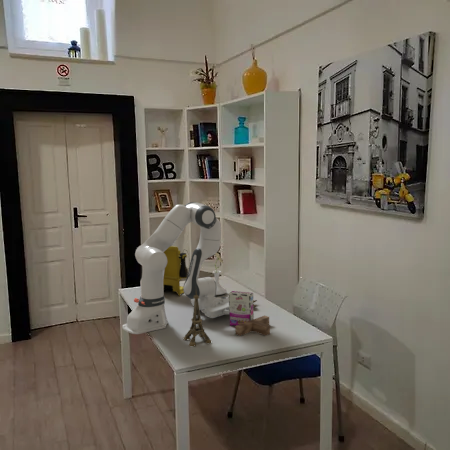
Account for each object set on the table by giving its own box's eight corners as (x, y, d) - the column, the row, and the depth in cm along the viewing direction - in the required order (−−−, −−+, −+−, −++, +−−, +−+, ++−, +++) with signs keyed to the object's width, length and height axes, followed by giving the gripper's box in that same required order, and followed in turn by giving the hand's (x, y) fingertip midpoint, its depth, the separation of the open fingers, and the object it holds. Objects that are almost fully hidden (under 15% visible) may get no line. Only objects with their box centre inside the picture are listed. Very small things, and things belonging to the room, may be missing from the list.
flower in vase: (226, 296, 267) (225, 255, 264) (207, 296, 268) (206, 255, 264) (226, 290, 280) (226, 250, 277) (208, 290, 280) (207, 250, 277)
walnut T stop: (252, 340, 202) (252, 332, 201) (235, 334, 210) (235, 326, 209) (281, 329, 215) (281, 321, 215) (264, 323, 223) (264, 315, 223)
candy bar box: (254, 325, 221) (253, 292, 219) (250, 328, 216) (250, 295, 214) (232, 322, 225) (232, 290, 223) (229, 325, 221) (228, 293, 218)
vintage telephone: (202, 292, 277) (201, 243, 273) (190, 298, 265) (189, 248, 261) (160, 286, 292) (158, 240, 287) (147, 292, 280) (145, 244, 275)
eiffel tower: (190, 347, 197) (188, 291, 193) (182, 338, 206) (180, 285, 203) (212, 342, 201) (211, 288, 197) (204, 334, 210) (202, 282, 207)
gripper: (199, 305, 227) (217, 311, 217) (228, 296, 241) (247, 301, 231) (199, 317, 228) (218, 324, 218) (229, 307, 242) (247, 313, 232)
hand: (233, 312), depth 224 cm, fingers closed
